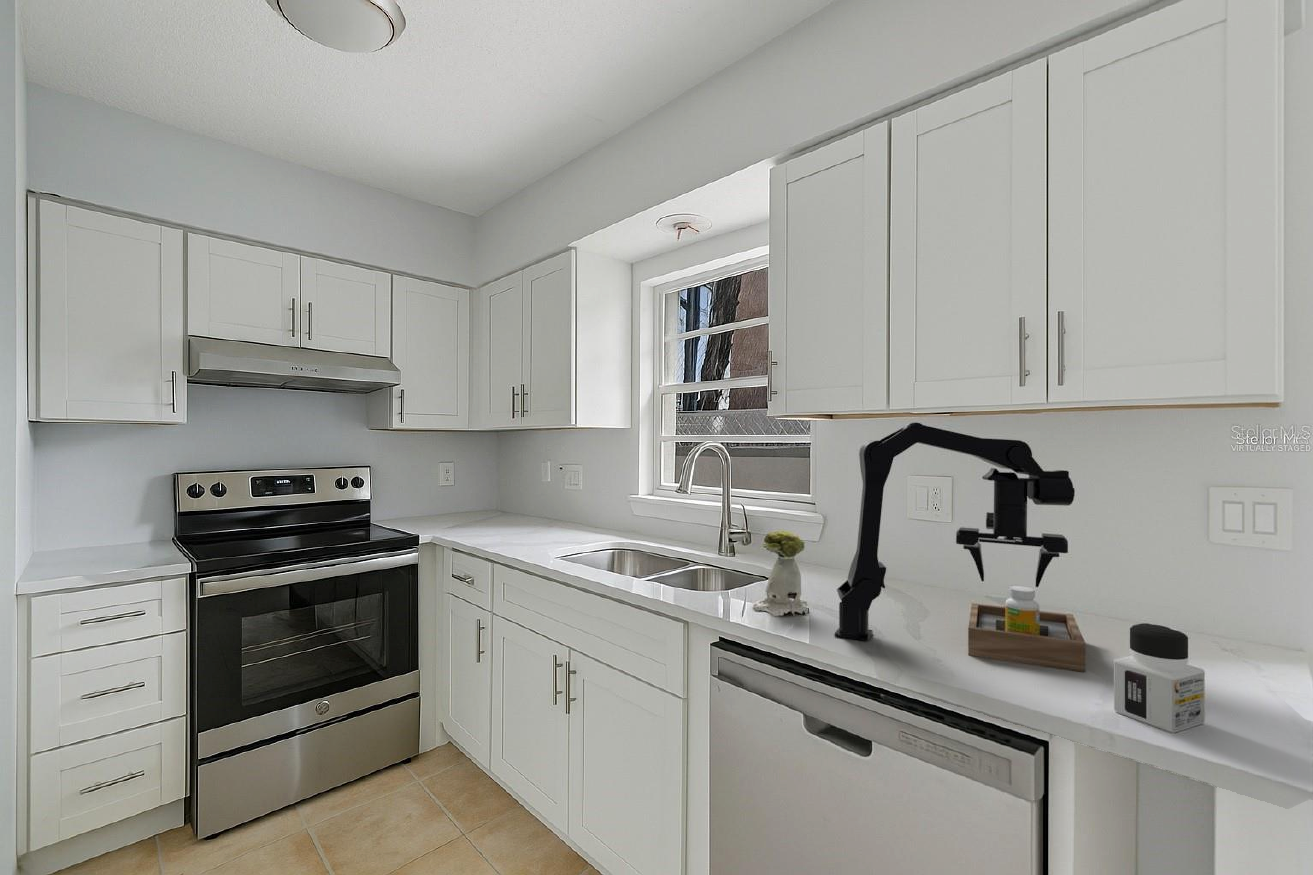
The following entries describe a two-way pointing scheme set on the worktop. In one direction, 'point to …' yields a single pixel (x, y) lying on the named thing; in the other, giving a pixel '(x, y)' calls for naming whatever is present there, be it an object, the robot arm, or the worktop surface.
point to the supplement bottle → (1022, 611)
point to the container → (1159, 680)
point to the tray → (1027, 639)
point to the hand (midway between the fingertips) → (1009, 583)
